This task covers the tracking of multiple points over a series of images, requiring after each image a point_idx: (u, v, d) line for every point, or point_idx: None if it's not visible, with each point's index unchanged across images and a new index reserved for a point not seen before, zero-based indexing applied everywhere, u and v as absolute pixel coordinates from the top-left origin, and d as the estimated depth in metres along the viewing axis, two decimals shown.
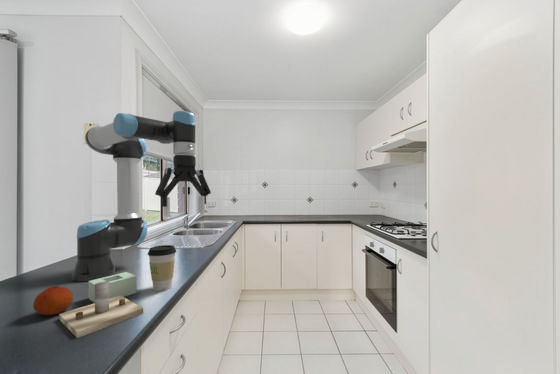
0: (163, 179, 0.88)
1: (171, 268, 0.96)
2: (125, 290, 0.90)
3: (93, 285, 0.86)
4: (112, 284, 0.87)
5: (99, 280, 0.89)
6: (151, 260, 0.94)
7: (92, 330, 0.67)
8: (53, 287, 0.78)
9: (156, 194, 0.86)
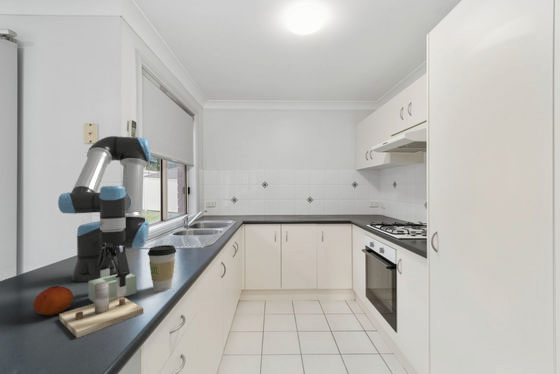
0: None
1: (171, 268, 0.96)
2: None
3: (93, 285, 0.86)
4: (112, 284, 0.87)
5: (99, 280, 0.89)
6: (151, 260, 0.94)
7: (92, 330, 0.67)
8: (53, 287, 0.78)
9: None
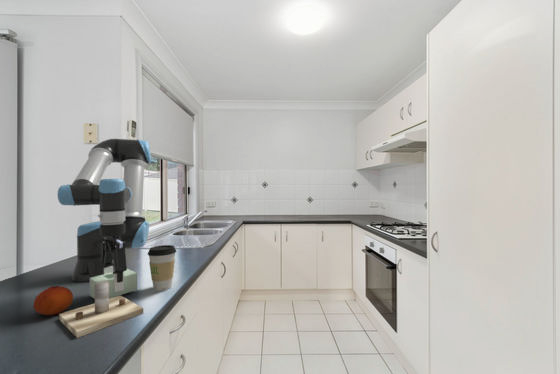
0: None
1: (171, 268, 0.96)
2: (126, 287, 0.91)
3: (94, 282, 0.86)
4: (113, 281, 0.88)
5: (100, 277, 0.89)
6: (151, 260, 0.94)
7: (92, 330, 0.67)
8: (53, 287, 0.78)
9: None
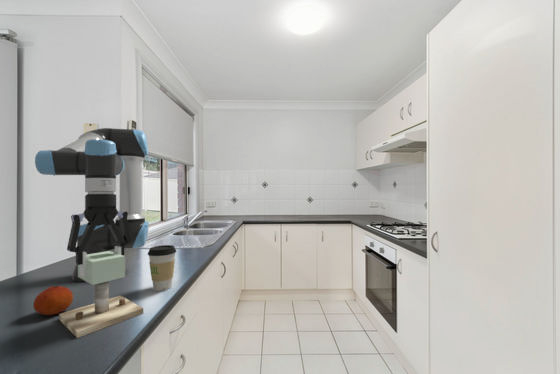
0: (72, 230, 0.71)
1: (171, 268, 0.96)
2: None
3: (112, 260, 0.73)
4: None
5: (99, 258, 0.72)
6: (151, 260, 0.94)
7: (92, 330, 0.67)
8: (53, 287, 0.78)
9: (68, 250, 0.70)
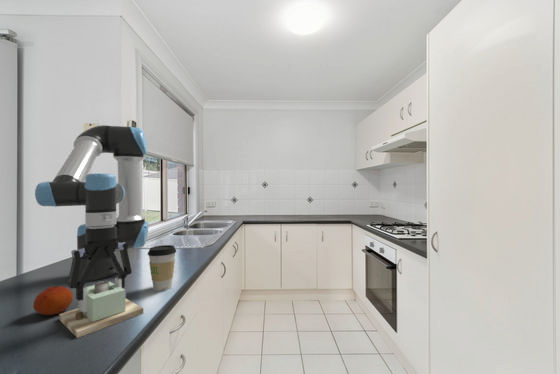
0: (72, 266, 0.70)
1: (171, 268, 0.96)
2: None
3: (112, 295, 0.73)
4: None
5: (100, 294, 0.72)
6: (151, 260, 0.94)
7: (92, 330, 0.67)
8: (53, 287, 0.78)
9: (68, 286, 0.70)
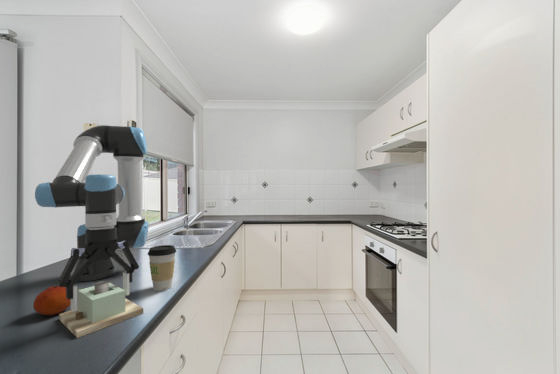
0: (68, 264, 0.70)
1: (171, 268, 0.96)
2: None
3: (112, 296, 0.73)
4: None
5: (99, 294, 0.72)
6: (151, 260, 0.94)
7: (92, 330, 0.67)
8: (53, 287, 0.78)
9: (58, 285, 0.68)
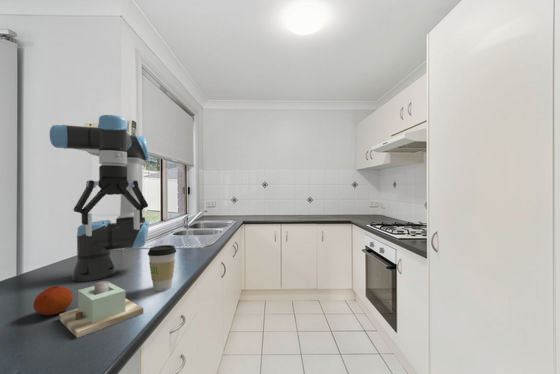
0: (83, 193, 0.77)
1: (171, 268, 0.96)
2: None
3: (112, 296, 0.73)
4: None
5: (99, 294, 0.72)
6: (151, 260, 0.94)
7: (92, 330, 0.67)
8: (53, 287, 0.78)
9: None
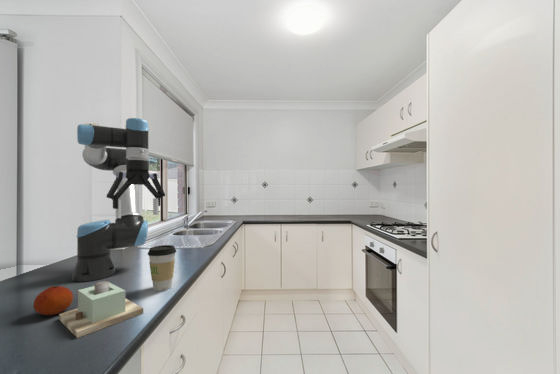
0: (114, 183, 0.93)
1: (171, 268, 0.96)
2: None
3: (112, 296, 0.73)
4: None
5: (99, 294, 0.72)
6: (151, 260, 0.94)
7: (92, 330, 0.67)
8: (53, 287, 0.78)
9: (107, 197, 0.91)
